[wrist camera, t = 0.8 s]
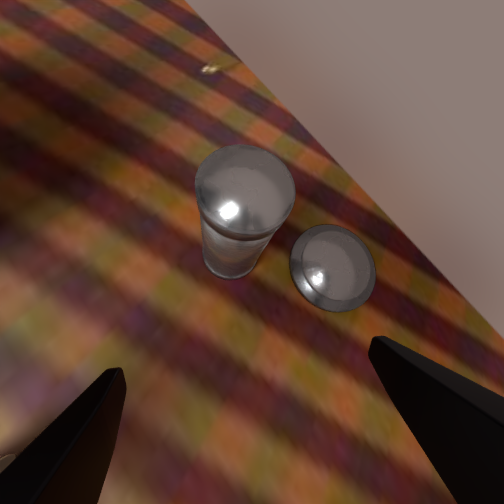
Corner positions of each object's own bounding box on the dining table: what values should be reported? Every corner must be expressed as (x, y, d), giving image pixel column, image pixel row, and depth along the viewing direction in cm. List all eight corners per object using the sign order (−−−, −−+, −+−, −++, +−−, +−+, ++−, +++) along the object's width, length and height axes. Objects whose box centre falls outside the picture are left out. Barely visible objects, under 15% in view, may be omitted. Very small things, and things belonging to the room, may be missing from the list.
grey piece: (261, 275, 23) (306, 225, 12) (207, 284, 22) (203, 239, 11) (250, 226, 24) (282, 142, 13) (199, 232, 23) (188, 147, 12)
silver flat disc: (384, 302, 24) (392, 301, 23) (302, 320, 22) (307, 320, 21) (355, 222, 26) (361, 217, 25) (279, 232, 24) (283, 227, 23)
